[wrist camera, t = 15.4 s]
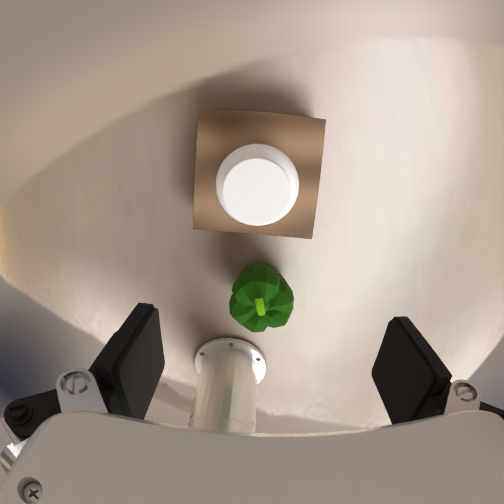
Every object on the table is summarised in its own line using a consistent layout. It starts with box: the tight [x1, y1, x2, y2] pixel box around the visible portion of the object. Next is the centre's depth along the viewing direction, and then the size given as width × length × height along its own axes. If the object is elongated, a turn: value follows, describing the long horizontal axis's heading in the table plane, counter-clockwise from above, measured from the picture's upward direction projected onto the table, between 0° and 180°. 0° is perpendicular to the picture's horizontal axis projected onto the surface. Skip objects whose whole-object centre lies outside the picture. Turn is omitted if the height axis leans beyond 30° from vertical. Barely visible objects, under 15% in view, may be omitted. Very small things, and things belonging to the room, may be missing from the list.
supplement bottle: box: [216, 144, 299, 226], centre depth 25 cm, size 7×7×13 cm
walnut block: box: [193, 109, 326, 239], centre depth 34 cm, size 14×14×6 cm
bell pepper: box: [229, 264, 294, 332], centre depth 37 cm, size 8×8×10 cm
